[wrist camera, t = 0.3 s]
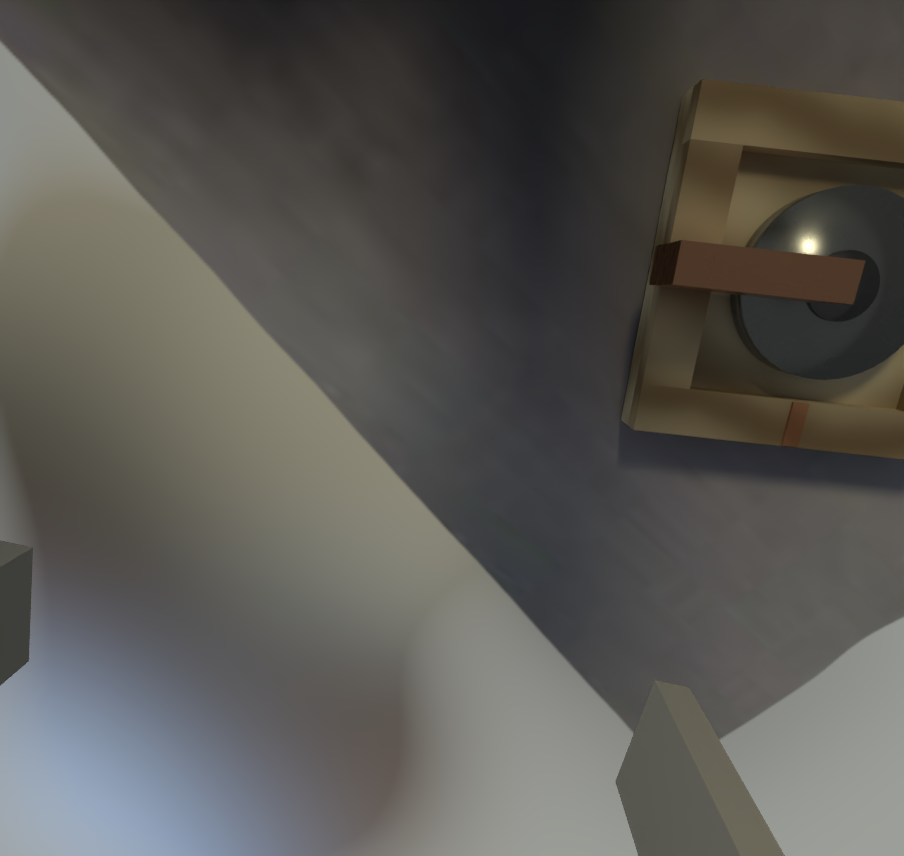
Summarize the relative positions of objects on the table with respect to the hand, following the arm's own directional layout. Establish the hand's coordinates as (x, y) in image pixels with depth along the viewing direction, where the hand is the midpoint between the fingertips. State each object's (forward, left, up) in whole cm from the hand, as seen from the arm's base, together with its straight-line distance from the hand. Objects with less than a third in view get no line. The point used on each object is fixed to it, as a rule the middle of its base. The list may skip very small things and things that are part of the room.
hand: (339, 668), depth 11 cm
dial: (-10, +21, -25) cm, 34 cm away
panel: (-10, +24, -27) cm, 37 cm away
